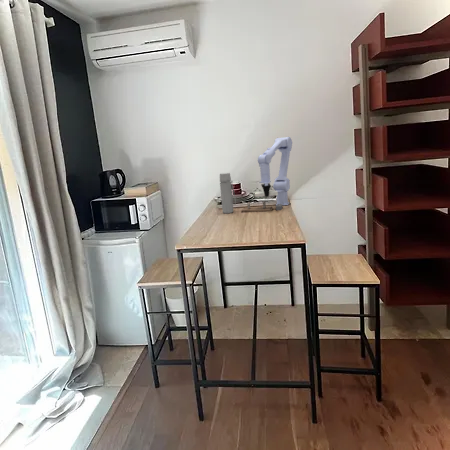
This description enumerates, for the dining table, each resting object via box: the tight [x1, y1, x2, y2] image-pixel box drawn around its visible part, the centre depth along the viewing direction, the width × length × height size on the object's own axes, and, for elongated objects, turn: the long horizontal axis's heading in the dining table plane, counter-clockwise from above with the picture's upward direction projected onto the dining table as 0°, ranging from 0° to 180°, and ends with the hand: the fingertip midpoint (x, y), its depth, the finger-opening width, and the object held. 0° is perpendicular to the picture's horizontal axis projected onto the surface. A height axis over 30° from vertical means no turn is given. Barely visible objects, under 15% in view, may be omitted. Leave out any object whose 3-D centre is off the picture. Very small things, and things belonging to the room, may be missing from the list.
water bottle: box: [219, 172, 237, 214], centre depth 242 cm, size 9×8×25 cm
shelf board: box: [254, 190, 278, 198], centre depth 240 cm, size 14×5×2 cm, turn 88°
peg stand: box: [240, 201, 273, 213], centre depth 243 cm, size 10×18×5 cm, turn 74°
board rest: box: [275, 203, 283, 211], centre depth 241 cm, size 8×3×2 cm, turn 164°
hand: (266, 195), depth 240 cm, fingers closed on shelf board, 5 cm apart
